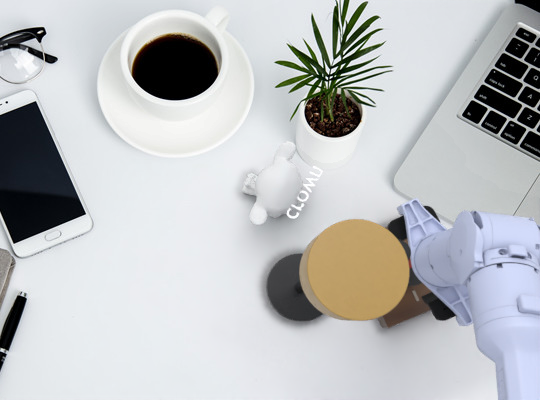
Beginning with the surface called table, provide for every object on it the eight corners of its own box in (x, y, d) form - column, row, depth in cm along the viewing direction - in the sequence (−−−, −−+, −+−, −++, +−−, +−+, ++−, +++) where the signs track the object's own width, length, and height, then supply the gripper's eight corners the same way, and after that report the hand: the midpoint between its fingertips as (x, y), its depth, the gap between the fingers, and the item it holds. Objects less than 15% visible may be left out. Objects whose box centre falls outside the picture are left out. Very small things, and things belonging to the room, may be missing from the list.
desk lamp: (343, 305, 83) (510, 292, 36) (271, 335, 82) (343, 361, 35) (316, 244, 84) (440, 153, 37) (245, 273, 84) (280, 218, 37)
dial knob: (426, 279, 80) (436, 277, 76) (395, 292, 80) (404, 291, 76) (411, 248, 81) (420, 244, 77) (380, 260, 81) (388, 258, 77)
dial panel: (450, 299, 82) (459, 298, 79) (382, 327, 82) (388, 328, 79) (410, 217, 84) (418, 213, 81) (344, 244, 84) (348, 242, 81)
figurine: (233, 225, 87) (298, 249, 83) (214, 208, 80) (285, 233, 75) (265, 150, 89) (331, 170, 85) (250, 126, 82) (321, 146, 77)
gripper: (528, 306, 61) (473, 307, 74) (456, 177, 64) (415, 201, 77) (465, 335, 61) (420, 332, 74) (395, 205, 63) (364, 224, 77)
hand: (414, 267), depth 76 cm, fingers open, 7 cm apart
